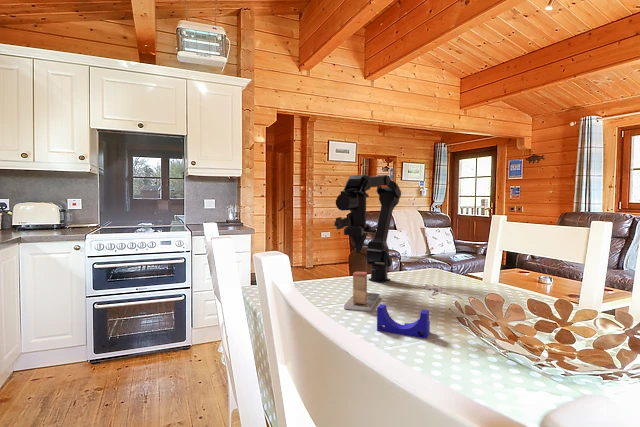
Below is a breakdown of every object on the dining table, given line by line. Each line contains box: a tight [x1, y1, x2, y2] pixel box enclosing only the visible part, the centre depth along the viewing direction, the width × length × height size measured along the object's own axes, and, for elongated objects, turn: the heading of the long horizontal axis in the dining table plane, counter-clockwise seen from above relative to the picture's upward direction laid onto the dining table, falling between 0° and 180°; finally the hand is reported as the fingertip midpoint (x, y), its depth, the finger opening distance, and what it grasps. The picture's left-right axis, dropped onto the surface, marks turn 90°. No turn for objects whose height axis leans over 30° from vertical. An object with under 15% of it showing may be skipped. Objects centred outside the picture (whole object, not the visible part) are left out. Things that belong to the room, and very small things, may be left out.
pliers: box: [424, 283, 462, 300], centre depth 127 cm, size 10×2×15 cm
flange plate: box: [343, 292, 381, 313], centre depth 114 cm, size 16×8×2 cm, turn 162°
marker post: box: [352, 271, 368, 304], centre depth 110 cm, size 4×4×9 cm
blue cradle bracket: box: [376, 304, 431, 340], centre depth 90 cm, size 12×4×6 cm, turn 65°
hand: (358, 252), depth 132 cm, fingers closed
